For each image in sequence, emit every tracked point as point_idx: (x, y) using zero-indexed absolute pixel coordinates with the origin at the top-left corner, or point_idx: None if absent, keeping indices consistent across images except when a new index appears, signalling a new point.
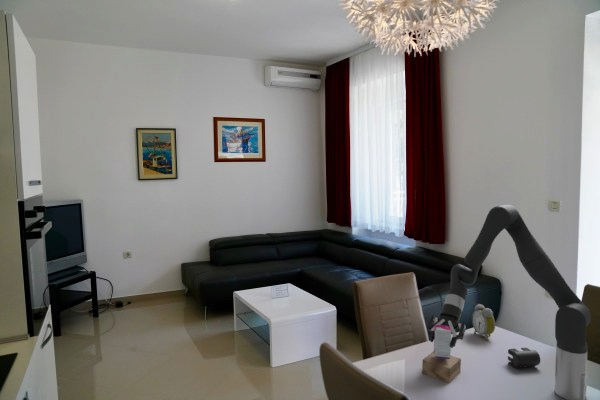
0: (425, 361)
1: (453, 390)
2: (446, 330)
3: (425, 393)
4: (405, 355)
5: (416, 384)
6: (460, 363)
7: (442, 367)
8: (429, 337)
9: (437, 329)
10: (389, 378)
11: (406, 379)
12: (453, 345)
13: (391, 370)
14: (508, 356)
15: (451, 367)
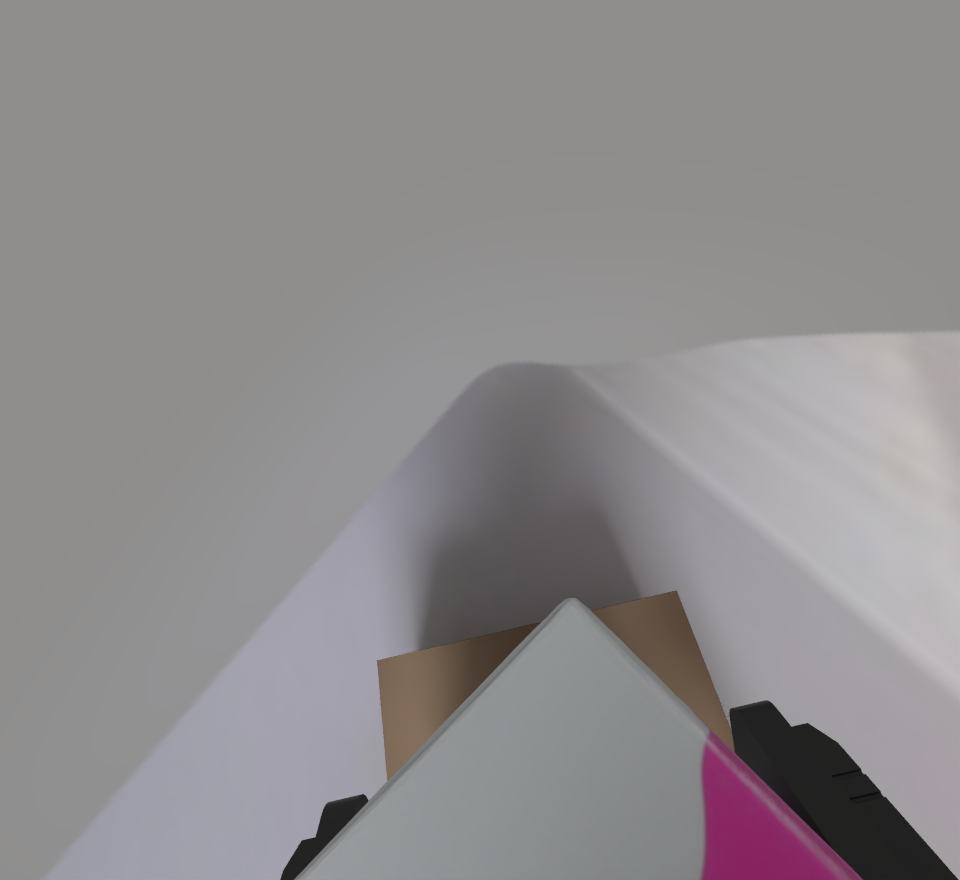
0: (642, 601)
1: (345, 600)
2: (323, 851)
3: (448, 423)
4: None
5: (553, 455)
6: None
7: (457, 645)
8: (821, 744)
9: (562, 627)
10: (709, 372)
11: (641, 449)
12: (304, 856)
13: (811, 454)
14: None
15: (381, 706)
